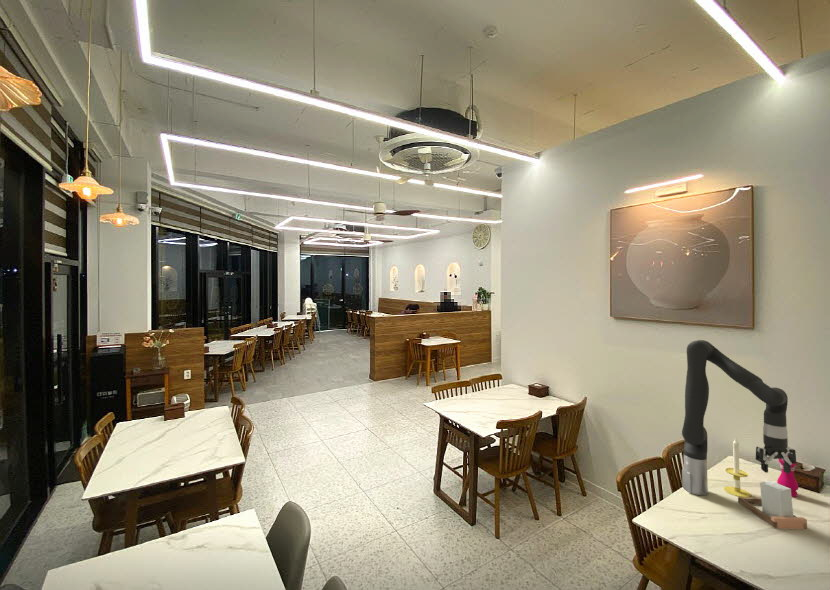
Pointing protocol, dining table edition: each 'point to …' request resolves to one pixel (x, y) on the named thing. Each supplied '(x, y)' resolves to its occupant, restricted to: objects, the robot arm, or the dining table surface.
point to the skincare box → (776, 499)
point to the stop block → (790, 522)
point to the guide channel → (748, 503)
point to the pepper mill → (788, 478)
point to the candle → (736, 474)
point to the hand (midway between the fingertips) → (775, 472)
